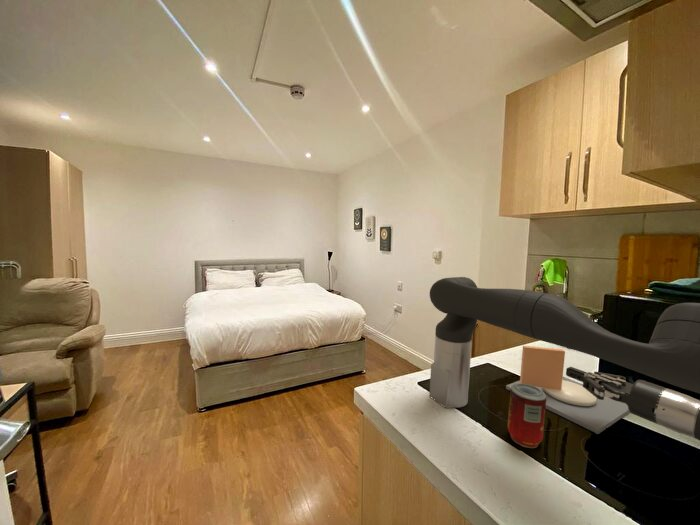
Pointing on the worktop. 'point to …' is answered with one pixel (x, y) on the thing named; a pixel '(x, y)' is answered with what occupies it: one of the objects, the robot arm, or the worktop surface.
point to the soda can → (526, 414)
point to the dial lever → (552, 375)
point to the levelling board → (586, 410)
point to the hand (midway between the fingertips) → (567, 370)
